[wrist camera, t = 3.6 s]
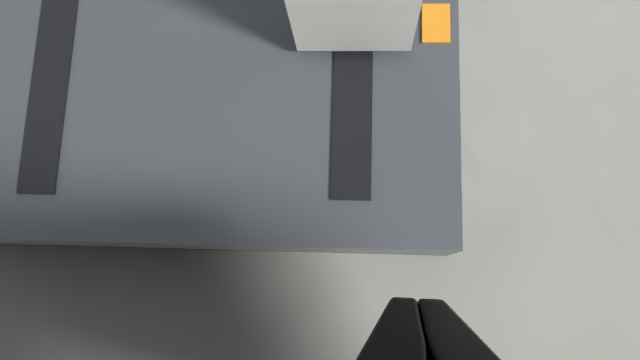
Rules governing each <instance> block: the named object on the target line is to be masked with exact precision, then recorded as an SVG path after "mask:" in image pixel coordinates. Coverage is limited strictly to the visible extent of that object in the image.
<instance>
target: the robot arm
mask: <svg viewBox="0 0 640 360" xmlns="http://www.w3.org/2000/svg"><path fill="white" fill-rule="evenodd" d="M356 360H501V359H500V358H499V357H498V356H497V355H496V354H495V353H494V352H493V351H492V350H491V349H490V348H489V347H488V346H487V345H486V344H485V343H484V342H483V341H482V340H481V339H480V338H479V337H478V336H477V335H476V334H475V332H474V331H473V330H472V329H471V328H470V327H469V326H468V325H467V324H466V323H465V322H464V321H463V320H462V319H461V318H460V317H459V316H458V315H457V314H456V313H455V312H454V311H453V310H452V309H451V308H450V307H449V305H448V304H447V303H446V302H444V301H443V300H438V299H420V300H418V302H417V301H416V300H415V299H414V298H399V297H394V298H392V299H391V300H390V301H389V303H388V305H387V306H386V308H385V310H384V312H383V313H382V315H381V317H380V319H379V320H378V322H377V324H376V326H375V327H374V329H373V331H372V333H371V334H370V336H369V338H368V340H367V341H366V343H365V345H364V347H363V348H362V350H361V352H360V354H359V355H358V357H357V359H356Z"/></svg>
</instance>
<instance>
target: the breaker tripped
mask: <svg viewBox="0 0 640 360" xmlns="http://www.w3.org/2000/svg"><path fill="white" fill-rule="evenodd" d="M422 1H423V0H284V2H285V6H286V9H287V13H288V17H289V21H290V25H291V29H292V33H293V36H294V40H295V44H296V48H297V51H411V49H412V44H413V40H414V36H415V31H416V27H417V23H418V18H419V14H420V10H421V5H422Z"/></svg>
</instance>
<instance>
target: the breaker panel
mask: <svg viewBox="0 0 640 360" xmlns="http://www.w3.org/2000/svg"><path fill="white" fill-rule="evenodd" d="M0 244H33V245H71V246H109V247H146V248H184V249H222V250H259V251H297V252H335V253H372V254H410V255H451V254H454V253H457V252H461V251H463V245H462V190H461V135H460V81H459V26H458V0H423V1H422V5H421V10H420V14H419V18H418V23H417V27H416V31H415V36H414V40H413V44H412V49H411V51H297V48H296V44H295V40H294V36H293V33H292V29H291V25H290V21H289V17H288V13H287V9H286V6H285V2H284V0H0Z"/></svg>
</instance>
